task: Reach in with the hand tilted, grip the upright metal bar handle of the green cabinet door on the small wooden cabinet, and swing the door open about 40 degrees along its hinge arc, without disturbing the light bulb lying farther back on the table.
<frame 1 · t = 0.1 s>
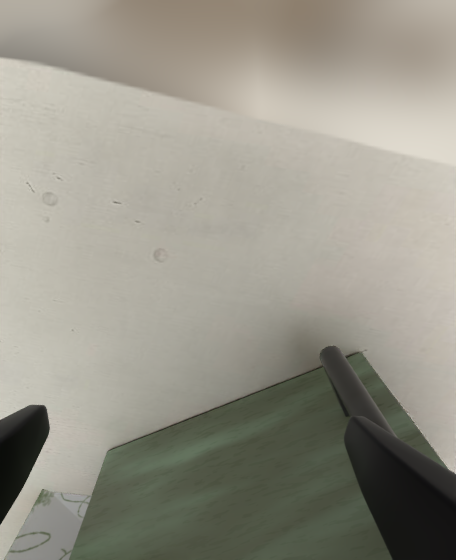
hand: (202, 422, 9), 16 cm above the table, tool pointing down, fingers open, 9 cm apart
green cabinet door: (219, 539, 17), point 12 cm above the table, hinge at 0.0°
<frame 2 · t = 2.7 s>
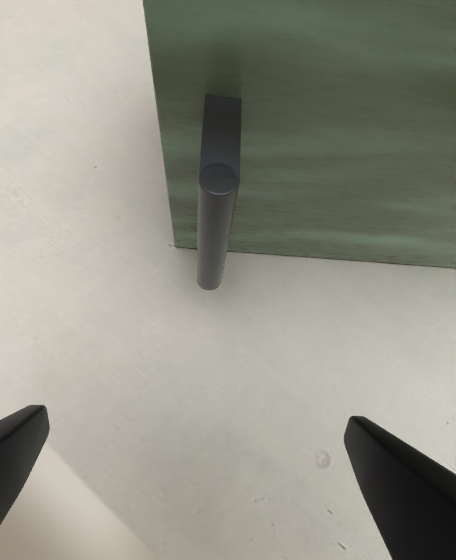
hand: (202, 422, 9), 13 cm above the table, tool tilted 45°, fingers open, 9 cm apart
green cabinet door: (424, 188, 15), point 12 cm above the table, hinge at 0.0°
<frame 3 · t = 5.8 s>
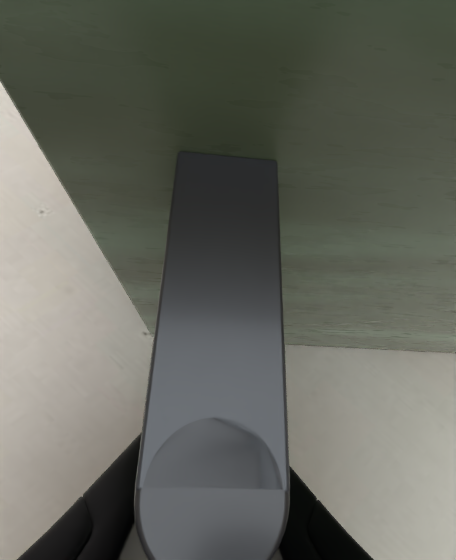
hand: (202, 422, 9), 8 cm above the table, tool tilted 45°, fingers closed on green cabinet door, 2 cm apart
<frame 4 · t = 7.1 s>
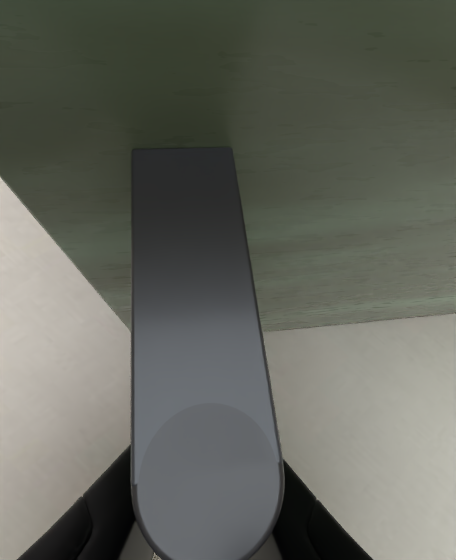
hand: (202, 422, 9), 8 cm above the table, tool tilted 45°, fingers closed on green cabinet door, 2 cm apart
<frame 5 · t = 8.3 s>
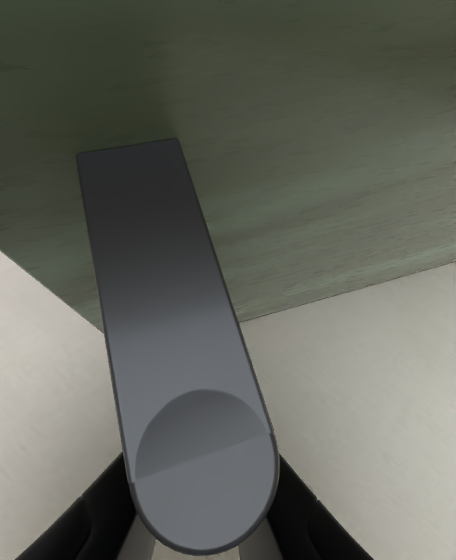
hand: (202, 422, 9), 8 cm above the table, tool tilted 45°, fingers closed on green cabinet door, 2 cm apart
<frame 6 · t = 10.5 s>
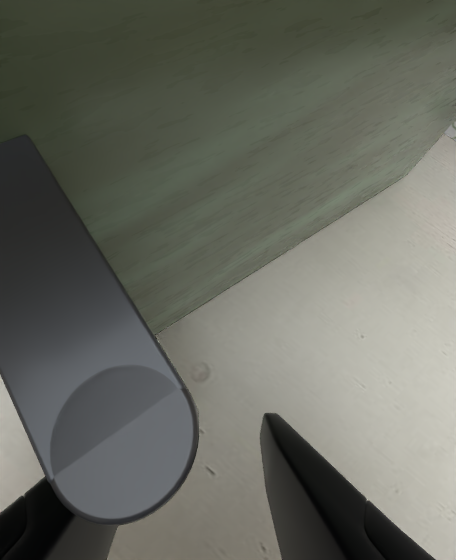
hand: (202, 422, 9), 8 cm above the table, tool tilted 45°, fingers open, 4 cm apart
green cabinet door: (425, 120, 9), point 12 cm above the table, hinge at 37.5°
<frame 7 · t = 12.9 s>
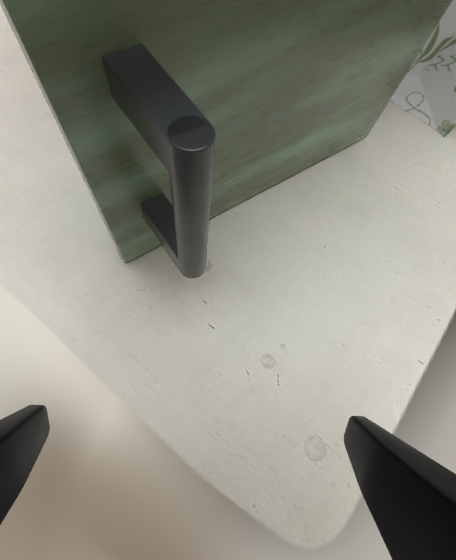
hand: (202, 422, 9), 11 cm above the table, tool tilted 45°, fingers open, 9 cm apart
grocery bag: (449, 53, 39), on the table, touching wooden cabinet
green cabinet door: (340, 63, 15), point 12 cm above the table, hinge at 37.5°
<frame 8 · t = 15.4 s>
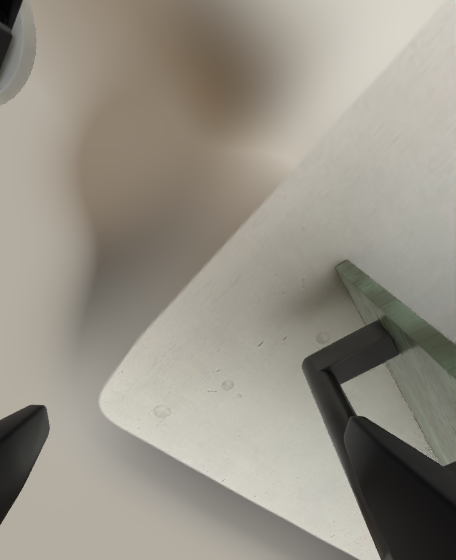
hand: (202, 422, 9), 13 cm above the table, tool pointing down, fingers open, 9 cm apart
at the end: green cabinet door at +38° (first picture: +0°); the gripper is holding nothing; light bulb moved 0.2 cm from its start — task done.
